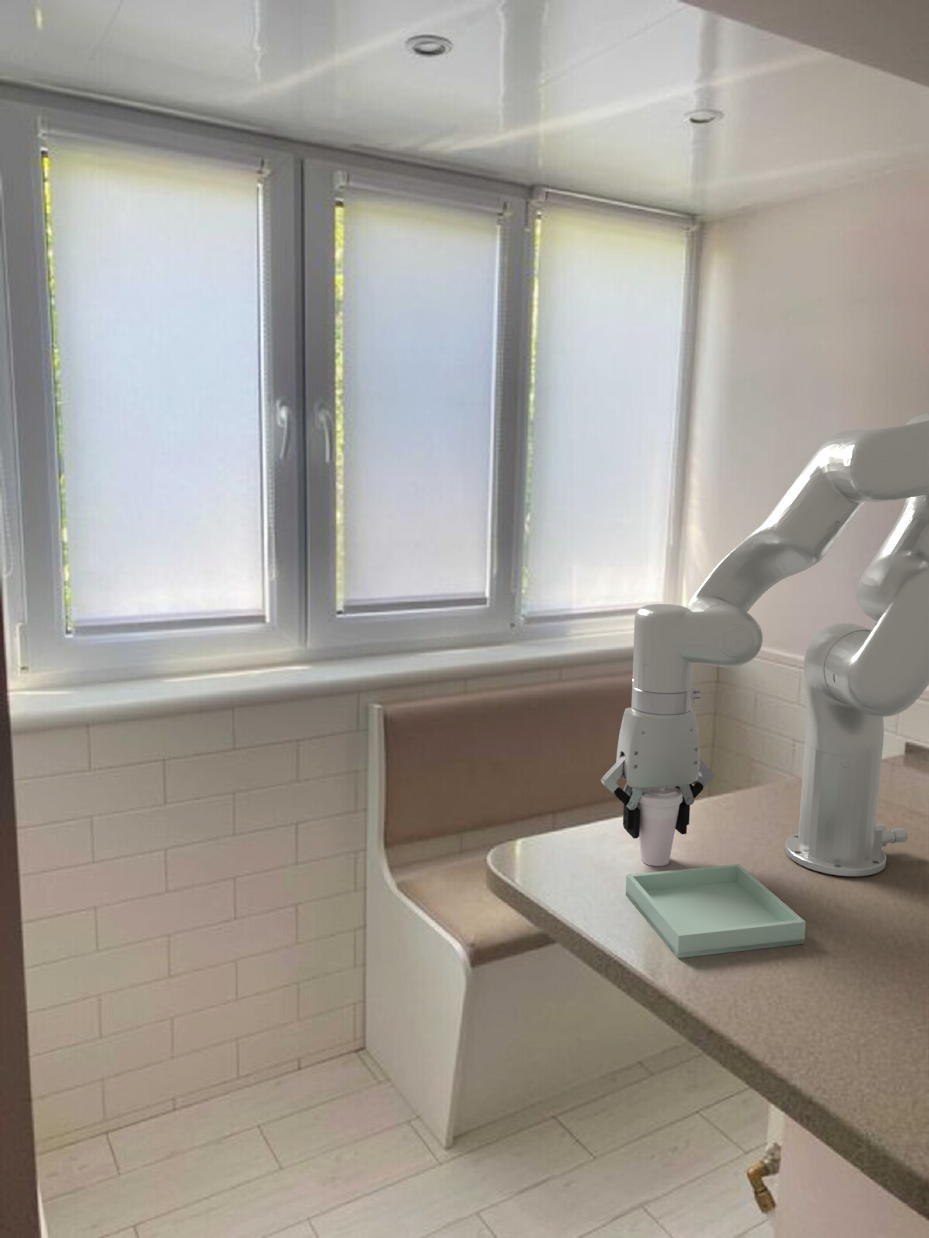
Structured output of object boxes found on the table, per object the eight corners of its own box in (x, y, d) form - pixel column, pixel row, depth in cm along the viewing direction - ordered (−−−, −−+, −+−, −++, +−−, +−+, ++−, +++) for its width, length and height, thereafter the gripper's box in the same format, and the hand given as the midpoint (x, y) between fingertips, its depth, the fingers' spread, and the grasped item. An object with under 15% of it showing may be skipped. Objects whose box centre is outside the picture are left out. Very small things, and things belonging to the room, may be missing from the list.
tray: (737, 883, 118) (739, 863, 117) (804, 943, 103) (805, 921, 103) (625, 894, 114) (626, 874, 114) (677, 958, 100) (678, 935, 100)
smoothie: (680, 872, 120) (685, 769, 118) (629, 868, 122) (634, 765, 119) (679, 852, 127) (684, 753, 124) (631, 848, 128) (635, 750, 126)
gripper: (709, 690, 126) (703, 816, 129) (587, 696, 122) (584, 826, 125) (736, 704, 119) (729, 838, 122) (608, 711, 115) (603, 849, 118)
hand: (655, 831), depth 123 cm, fingers closed on smoothie, 6 cm apart
